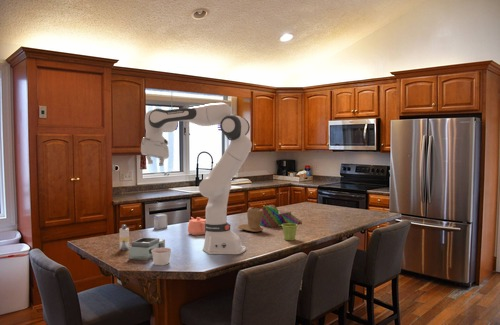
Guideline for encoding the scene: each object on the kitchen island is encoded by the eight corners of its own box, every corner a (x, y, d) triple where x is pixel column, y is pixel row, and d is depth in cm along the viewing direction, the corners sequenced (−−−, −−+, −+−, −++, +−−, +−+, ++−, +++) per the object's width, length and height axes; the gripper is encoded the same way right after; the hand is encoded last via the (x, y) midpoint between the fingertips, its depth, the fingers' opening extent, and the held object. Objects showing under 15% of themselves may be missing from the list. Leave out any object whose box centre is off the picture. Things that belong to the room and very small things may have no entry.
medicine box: (163, 226, 270) (163, 214, 270) (167, 227, 267) (167, 214, 267) (153, 228, 264) (153, 215, 263) (158, 229, 261) (157, 216, 261)
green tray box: (166, 250, 207) (165, 236, 206) (149, 260, 189) (148, 244, 189) (147, 249, 209) (147, 235, 209) (129, 259, 192) (129, 243, 192)
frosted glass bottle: (131, 248, 212) (130, 224, 212) (126, 250, 207) (125, 226, 207) (123, 247, 213) (122, 223, 213) (117, 250, 209) (117, 225, 208)
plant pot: (278, 239, 230) (278, 224, 230) (289, 237, 236) (289, 222, 236) (289, 242, 223) (289, 227, 223) (301, 239, 229) (301, 224, 229)
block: (278, 229, 261) (278, 207, 260) (259, 225, 273) (259, 205, 272) (301, 223, 278) (301, 203, 278) (283, 220, 290) (283, 201, 290)
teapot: (196, 237, 236) (195, 220, 236) (183, 232, 251) (183, 216, 251) (213, 235, 243) (212, 218, 242) (199, 230, 258) (199, 214, 257)
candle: (167, 266, 179) (166, 253, 179) (148, 265, 181) (148, 252, 180) (174, 261, 188) (174, 247, 188) (156, 260, 190) (156, 247, 189)
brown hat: (267, 231, 254) (267, 207, 253) (254, 234, 245) (254, 209, 245) (250, 227, 264) (250, 205, 264) (237, 230, 256) (237, 207, 255)
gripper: (146, 135, 205) (148, 161, 202) (169, 142, 224) (171, 166, 221) (137, 137, 207) (138, 163, 205) (160, 144, 226) (162, 168, 223)
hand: (156, 164), depth 213 cm, fingers open, 8 cm apart
